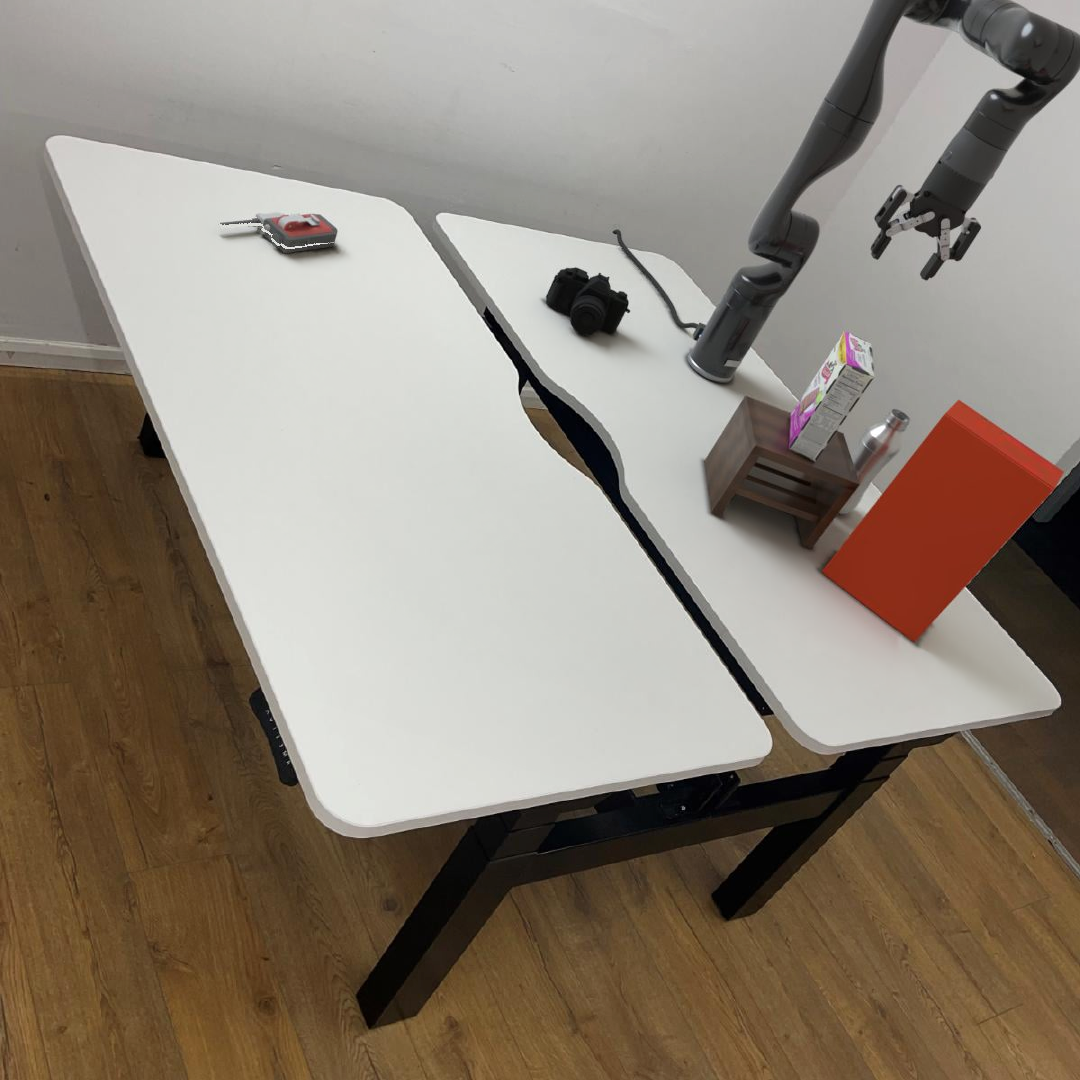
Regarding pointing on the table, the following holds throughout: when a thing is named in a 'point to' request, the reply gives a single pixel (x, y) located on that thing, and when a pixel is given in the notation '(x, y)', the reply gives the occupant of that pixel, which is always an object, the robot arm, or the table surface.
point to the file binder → (941, 520)
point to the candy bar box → (831, 396)
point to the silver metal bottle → (876, 452)
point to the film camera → (587, 301)
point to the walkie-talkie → (295, 230)
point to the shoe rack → (779, 469)
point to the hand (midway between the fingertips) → (898, 267)
